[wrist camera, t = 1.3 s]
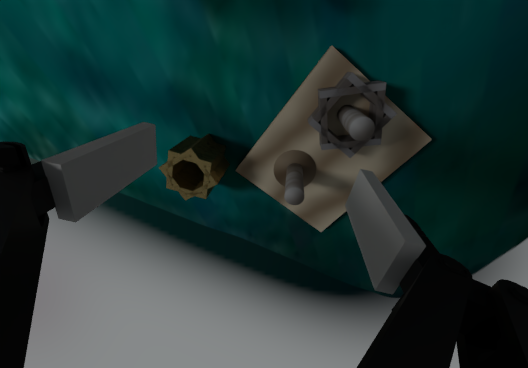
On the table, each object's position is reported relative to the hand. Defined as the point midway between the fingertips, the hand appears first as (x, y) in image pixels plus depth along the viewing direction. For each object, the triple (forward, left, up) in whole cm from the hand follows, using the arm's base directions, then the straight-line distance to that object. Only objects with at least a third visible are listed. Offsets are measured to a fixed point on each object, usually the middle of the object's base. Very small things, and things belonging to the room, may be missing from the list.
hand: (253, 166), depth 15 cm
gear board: (+10, 0, -20) cm, 22 cm away
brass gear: (-4, -13, -20) cm, 25 cm away
